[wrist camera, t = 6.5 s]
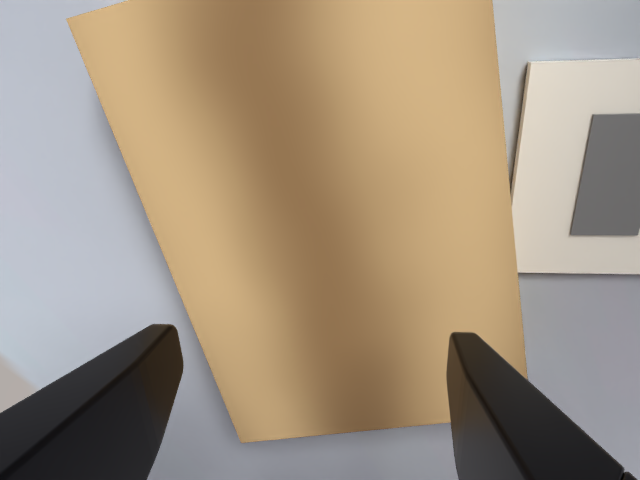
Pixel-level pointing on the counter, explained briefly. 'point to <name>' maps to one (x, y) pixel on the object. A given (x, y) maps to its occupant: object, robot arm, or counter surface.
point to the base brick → (319, 195)
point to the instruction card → (578, 168)
